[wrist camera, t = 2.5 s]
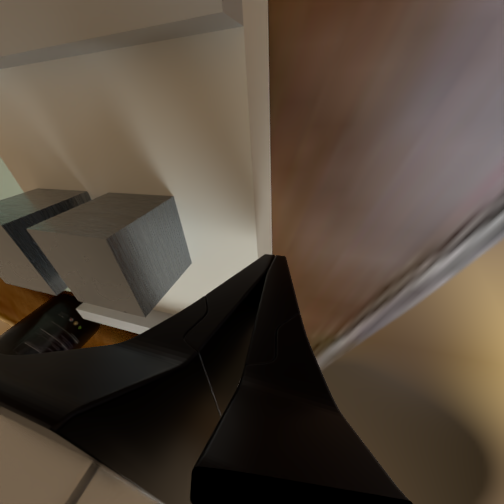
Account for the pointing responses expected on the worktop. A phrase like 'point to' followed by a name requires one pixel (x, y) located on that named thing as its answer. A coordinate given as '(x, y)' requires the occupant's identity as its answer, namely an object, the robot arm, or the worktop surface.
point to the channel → (146, 120)
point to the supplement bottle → (49, 329)
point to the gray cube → (21, 242)
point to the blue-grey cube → (117, 250)
